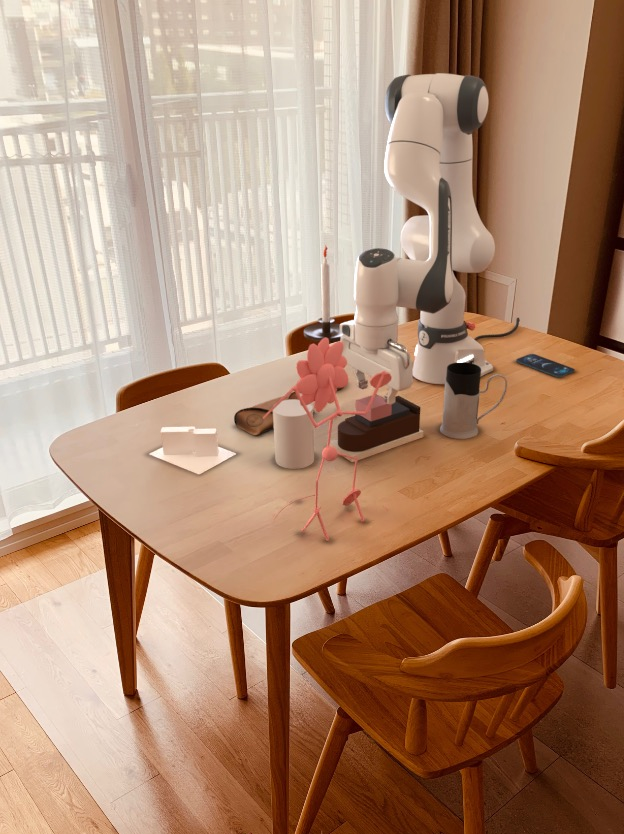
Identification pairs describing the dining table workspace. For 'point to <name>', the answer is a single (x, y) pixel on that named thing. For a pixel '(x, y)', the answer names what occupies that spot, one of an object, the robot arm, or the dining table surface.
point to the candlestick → (324, 313)
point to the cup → (293, 435)
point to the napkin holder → (191, 448)
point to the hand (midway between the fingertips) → (375, 395)
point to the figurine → (321, 387)
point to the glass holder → (463, 400)
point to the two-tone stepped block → (379, 410)
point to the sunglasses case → (258, 416)
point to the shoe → (377, 433)
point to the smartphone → (545, 365)
